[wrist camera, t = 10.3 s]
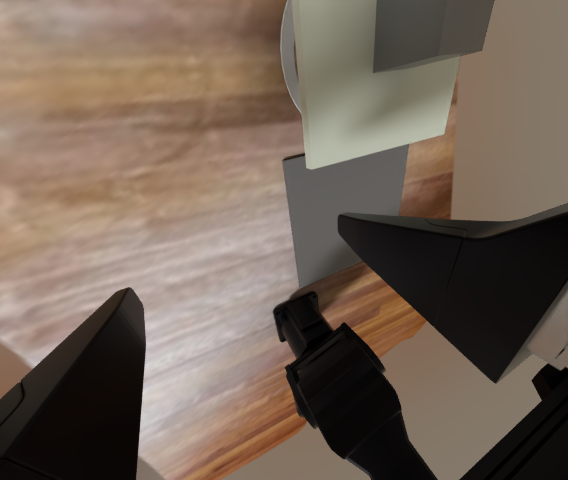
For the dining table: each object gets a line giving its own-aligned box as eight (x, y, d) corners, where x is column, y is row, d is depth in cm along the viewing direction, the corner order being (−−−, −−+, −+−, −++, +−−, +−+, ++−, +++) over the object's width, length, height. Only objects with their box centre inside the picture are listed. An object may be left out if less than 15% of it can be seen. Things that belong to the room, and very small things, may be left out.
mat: (391, 246, 33) (393, 247, 33) (299, 286, 29) (300, 288, 28) (407, 130, 25) (410, 130, 25) (282, 160, 21) (284, 161, 20)
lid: (435, 134, 21) (504, 135, 16) (306, 167, 17) (352, 182, 12) (483, -115, 14) (628, -227, 9) (277, -161, 9) (363, -398, 5)
